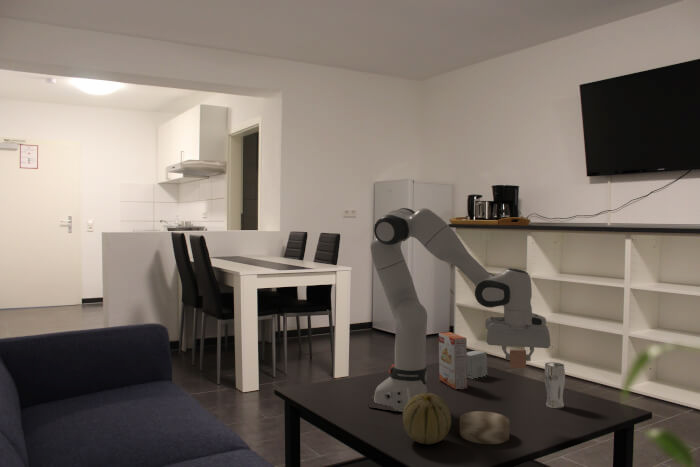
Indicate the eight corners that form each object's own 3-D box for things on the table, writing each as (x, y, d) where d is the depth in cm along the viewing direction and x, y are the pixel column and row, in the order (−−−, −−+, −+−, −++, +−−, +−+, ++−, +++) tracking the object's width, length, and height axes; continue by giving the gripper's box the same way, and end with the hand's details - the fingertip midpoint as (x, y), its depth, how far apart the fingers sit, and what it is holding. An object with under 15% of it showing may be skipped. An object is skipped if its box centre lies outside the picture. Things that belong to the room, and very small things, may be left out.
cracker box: (438, 381, 236) (438, 332, 236) (451, 380, 237) (450, 331, 237) (454, 390, 222) (453, 338, 222) (467, 389, 224) (467, 337, 224)
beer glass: (552, 409, 197) (552, 367, 197) (540, 403, 204) (540, 363, 204) (569, 407, 199) (569, 365, 199) (557, 402, 206) (556, 361, 206)
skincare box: (475, 373, 250) (475, 349, 250) (487, 376, 244) (487, 352, 244) (460, 377, 243) (460, 353, 243) (472, 380, 238) (471, 355, 238)
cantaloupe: (432, 430, 178) (431, 383, 178) (462, 445, 165) (461, 395, 165) (393, 439, 171) (392, 390, 171) (421, 455, 158) (420, 402, 158)
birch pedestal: (456, 441, 168) (456, 424, 168) (462, 424, 183) (462, 409, 183) (508, 446, 164) (508, 429, 164) (510, 429, 178) (510, 413, 178)
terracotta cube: (509, 367, 182) (509, 352, 182) (510, 364, 187) (510, 349, 187) (525, 368, 180) (525, 353, 180) (526, 365, 185) (526, 350, 185)
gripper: (484, 318, 184) (484, 359, 184) (550, 320, 177) (550, 364, 177) (486, 315, 190) (486, 355, 190) (549, 317, 183) (550, 359, 183)
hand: (518, 359), depth 183 cm, fingers closed on terracotta cube, 5 cm apart
